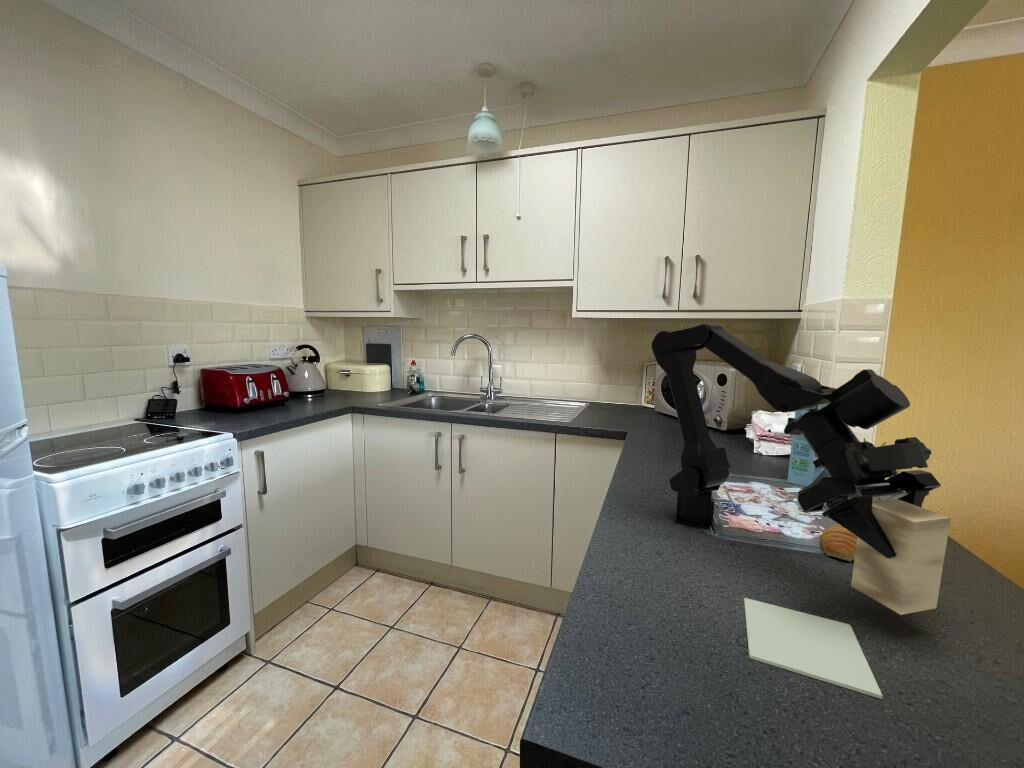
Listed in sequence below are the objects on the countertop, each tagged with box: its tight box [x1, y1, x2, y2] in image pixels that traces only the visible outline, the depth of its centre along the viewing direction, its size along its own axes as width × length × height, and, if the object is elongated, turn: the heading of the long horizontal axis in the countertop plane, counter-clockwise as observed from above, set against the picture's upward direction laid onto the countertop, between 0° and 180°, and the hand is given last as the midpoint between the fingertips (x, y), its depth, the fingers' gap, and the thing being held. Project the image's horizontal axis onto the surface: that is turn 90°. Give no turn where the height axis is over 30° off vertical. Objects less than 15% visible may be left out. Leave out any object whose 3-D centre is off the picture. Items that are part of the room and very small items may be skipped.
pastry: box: [819, 523, 857, 562], centre depth 73 cm, size 9×7×4 cm
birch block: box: [850, 499, 951, 616], centre depth 54 cm, size 6×6×12 cm
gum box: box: [786, 403, 830, 488], centre depth 112 cm, size 20×5×23 cm, turn 134°
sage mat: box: [743, 597, 883, 700], centre depth 51 cm, size 12×12×1 cm
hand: (911, 554), depth 53 cm, fingers closed on birch block, 6 cm apart
